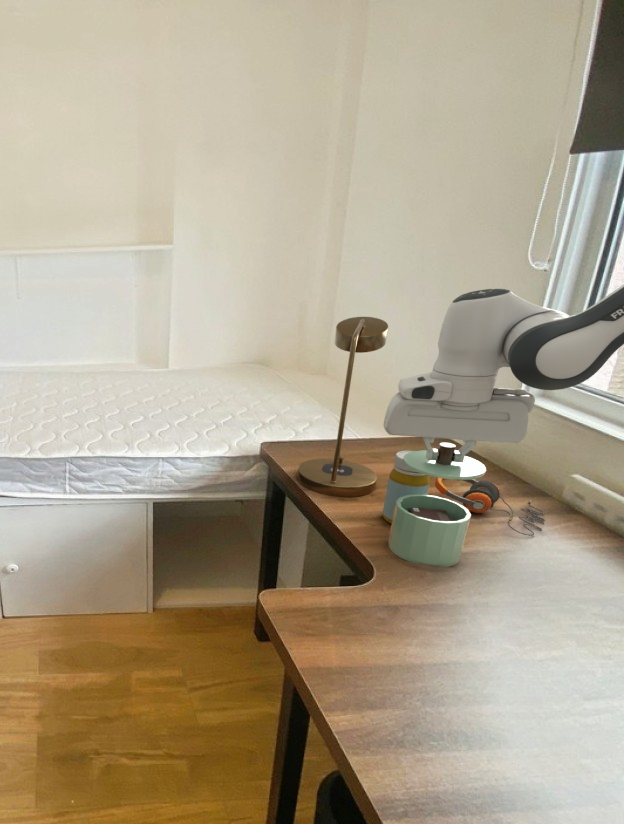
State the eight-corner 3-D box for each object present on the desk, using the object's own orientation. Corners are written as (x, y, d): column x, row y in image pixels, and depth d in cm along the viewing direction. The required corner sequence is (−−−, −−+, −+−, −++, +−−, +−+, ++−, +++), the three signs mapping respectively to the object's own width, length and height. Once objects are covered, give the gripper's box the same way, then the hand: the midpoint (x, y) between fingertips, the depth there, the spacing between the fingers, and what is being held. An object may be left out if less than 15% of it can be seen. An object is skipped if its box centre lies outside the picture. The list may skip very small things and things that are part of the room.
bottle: (413, 532, 114) (428, 466, 108) (376, 520, 119) (388, 457, 113) (425, 520, 118) (440, 455, 112) (388, 509, 123) (401, 447, 117)
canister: (451, 540, 110) (462, 498, 107) (466, 572, 101) (478, 527, 97) (384, 532, 115) (392, 491, 111) (392, 561, 105) (401, 517, 102)
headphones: (543, 529, 107) (430, 480, 119) (528, 550, 109) (418, 499, 122) (561, 500, 116) (454, 457, 129) (547, 520, 119) (443, 475, 132)
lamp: (380, 460, 147) (406, 315, 133) (372, 502, 126) (402, 337, 112) (309, 450, 156) (326, 314, 142) (291, 488, 135) (309, 334, 121)
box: (446, 559, 104) (455, 525, 101) (409, 554, 106) (416, 521, 103) (438, 543, 109) (446, 510, 106) (402, 538, 111) (409, 506, 108)
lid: (474, 459, 104) (480, 435, 102) (493, 486, 93) (500, 461, 92) (397, 453, 109) (401, 430, 107) (408, 478, 98) (413, 454, 97)
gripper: (531, 384, 94) (510, 459, 99) (389, 379, 102) (377, 448, 107) (545, 394, 88) (522, 473, 93) (394, 389, 97) (381, 461, 102)
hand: (443, 460), depth 100 cm, fingers closed on lid, 2 cm apart
